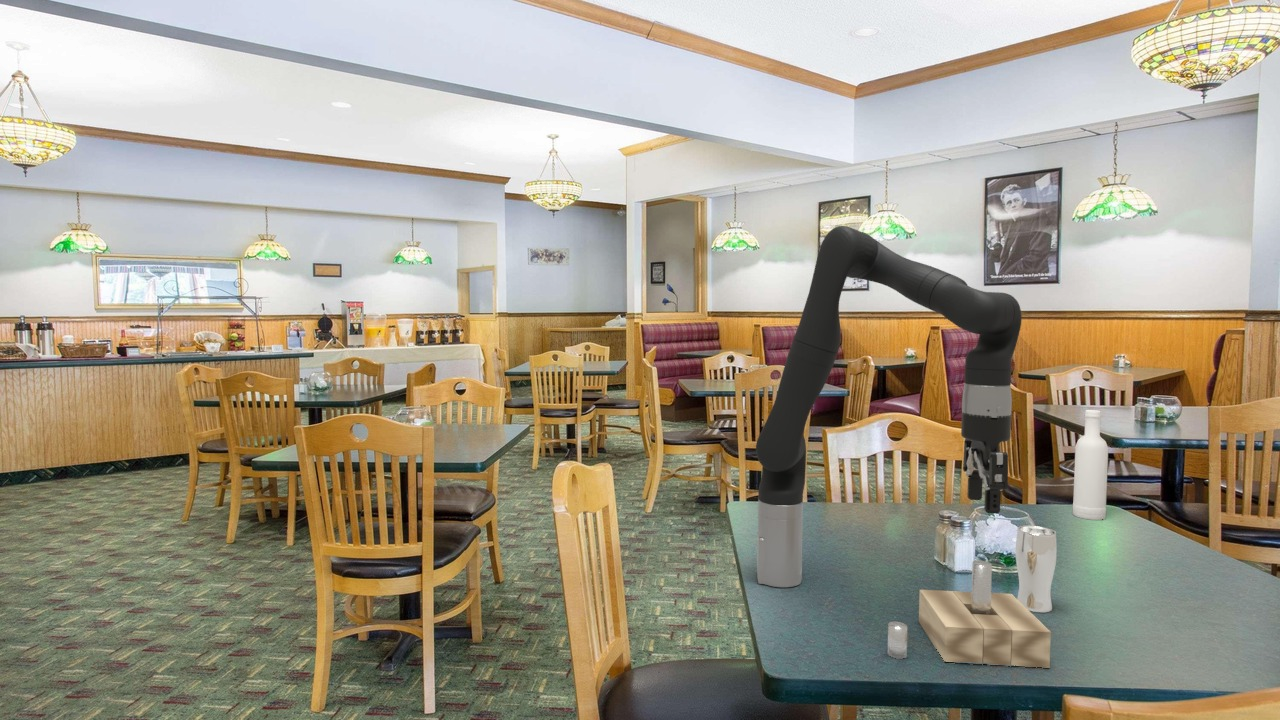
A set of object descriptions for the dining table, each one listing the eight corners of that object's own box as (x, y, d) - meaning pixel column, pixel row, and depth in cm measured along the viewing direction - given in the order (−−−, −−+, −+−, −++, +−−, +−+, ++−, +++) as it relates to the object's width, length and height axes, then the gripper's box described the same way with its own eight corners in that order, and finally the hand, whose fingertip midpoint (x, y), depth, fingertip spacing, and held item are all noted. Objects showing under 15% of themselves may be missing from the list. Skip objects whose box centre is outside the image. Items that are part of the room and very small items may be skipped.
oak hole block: (944, 662, 117) (945, 626, 117) (918, 621, 133) (919, 589, 132) (1049, 668, 115) (1050, 632, 115) (1010, 626, 131) (1011, 593, 130)
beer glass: (1006, 600, 143) (1008, 525, 142) (1039, 598, 144) (1042, 524, 143) (1028, 614, 136) (1030, 536, 135) (1063, 613, 137) (1066, 535, 136)
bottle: (1079, 519, 200) (1083, 411, 198) (1067, 512, 208) (1071, 408, 206) (1111, 520, 199) (1115, 412, 197) (1097, 513, 206) (1102, 408, 204)
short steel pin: (889, 658, 118) (890, 628, 118) (885, 650, 121) (886, 621, 121) (908, 659, 118) (909, 629, 118) (904, 651, 121) (904, 622, 121)
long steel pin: (973, 647, 123) (975, 566, 122) (967, 639, 125) (969, 560, 125) (992, 648, 122) (994, 567, 121) (985, 640, 125) (988, 561, 124)
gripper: (950, 405, 129) (947, 495, 130) (977, 416, 115) (973, 516, 116) (994, 406, 128) (991, 496, 129) (1027, 417, 114) (1023, 518, 115)
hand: (982, 506), depth 122 cm, fingers open, 8 cm apart
